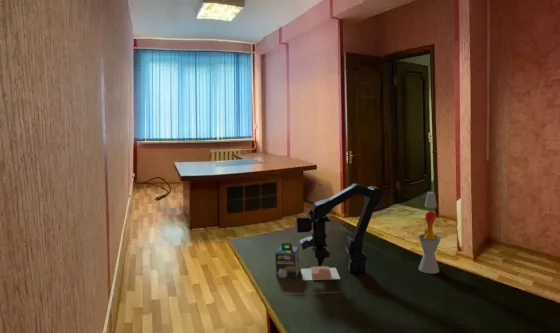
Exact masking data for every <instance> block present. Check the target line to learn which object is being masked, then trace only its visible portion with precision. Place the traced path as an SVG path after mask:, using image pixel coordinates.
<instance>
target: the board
mask: <svg viewBox="0 0 560 333" xmlns="http://www.w3.org/2000/svg"><path fill="white" fill-rule="evenodd" d="M329 270H330V272H331V278H320V279H312V277H311V273H310V268H300V273H301V277H302V281H311V280H312V281H315V280H316V281H317V280H318V281H319V280H321V281H322V280H340V279H341V277H340V275H339V272H338V270H337V268H336V267H329Z"/></svg>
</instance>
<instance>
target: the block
mask: <svg viewBox="0 0 560 333" xmlns="http://www.w3.org/2000/svg"><path fill="white" fill-rule="evenodd" d="M329 268H330V267H329V265H327V266H324V265H322V266H310V267H309V269H310V273H311V277H312V279H320V278H331V272H330V270H329Z"/></svg>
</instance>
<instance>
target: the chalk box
mask: <svg viewBox="0 0 560 333" xmlns="http://www.w3.org/2000/svg"><path fill="white" fill-rule="evenodd" d="M280 244H281V245H280V246H278V247H277V249H276V251H275V254H274V256H275V276H276V278H282V279H283V278H286V279H288V278H289V279H297V278H298V275H299V272H301V268H300V250H299V249H300V248H299V245H297V246H295V245H293V243H292V242H282V243H280Z"/></svg>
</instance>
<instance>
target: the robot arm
mask: <svg viewBox="0 0 560 333" xmlns="http://www.w3.org/2000/svg"><path fill="white" fill-rule="evenodd" d="M357 195H360V196H363V197H364V202H363V203H364V204H363V207H362V210H361V213H360V215H359V218H358V220H357V223H356V226H355V227H354V228H355V229H354V231H353V234H352V235H351V236H348V235H347V236H346V240H345V242H344V249H345V251H346V253H347V254H348V255H349V256H350V257H349V260H348V270H349V272H350V273H351V275H367V272H366V262H367V259H368V256H366V254H365V253H364V252H363V247H364V237H365V235H366V232H367V229H368V227H369V224H370V221H371V219H372V216H373V213H374V211H375V209H376V208H377V206H379V205H380V203H381V201H382V200H383V198H384V191H383V190H382V189H380V188H379V187H377V186H374V185H370V186H366V185H362V184H359V183H357V182H356V183H352V184H351V185H350V186H348V187H346V188H345V189H342V190H341V191H339V192H337V193H336V194H334V195H332V196H330V197H328V198H325V199H321V200H318V201H315V202H314V203H312V206H311V209H310V210H309V212H308V214H306V216H296V217H295V223H294V228H295V233H296V234H300V233H301V234H302V233H310V232H311V235H310V236H307V237H304V238H302V239H300V240H299V244H300V246H301V249H302V250H303V251H304V250H306V249H308V248H311V247H312V248H311V250H312V253H313V256H314V258H316V260H317V264H318V265H317V267H322V266H323V263H324V260H325V259H326V258H327V259H329V258H330V256H331V254H330V253H331V252H330V251H329V249H328V248H327V247H328V245H327V238H328V237H327V236H328V235H327V223H328V222H329V223H330V222H331V221H332V220H331V219H330V218H329V217H328V214H330V213H331V212H332V210H333V209H334V208H335V207H337V206H339V205H341V204H343V203H344V202H346V201H348V200H349V199H351V198H353V197H355V196H357Z"/></svg>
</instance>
